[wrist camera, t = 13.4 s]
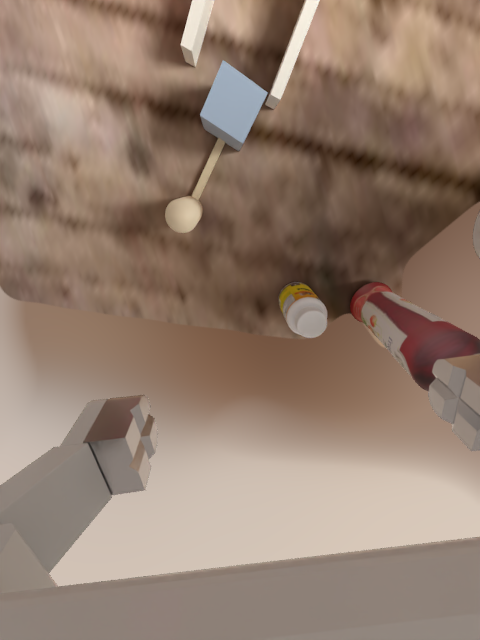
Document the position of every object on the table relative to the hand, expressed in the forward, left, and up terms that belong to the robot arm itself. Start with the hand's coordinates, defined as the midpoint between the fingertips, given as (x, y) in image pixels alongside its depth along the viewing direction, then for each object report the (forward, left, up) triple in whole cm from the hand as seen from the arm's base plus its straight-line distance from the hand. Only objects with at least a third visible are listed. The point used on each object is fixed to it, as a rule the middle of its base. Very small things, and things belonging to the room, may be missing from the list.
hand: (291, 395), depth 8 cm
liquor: (-20, +14, -37) cm, 44 cm away
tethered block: (+2, -8, -37) cm, 38 cm away
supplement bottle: (-8, +12, -37) cm, 40 cm away
